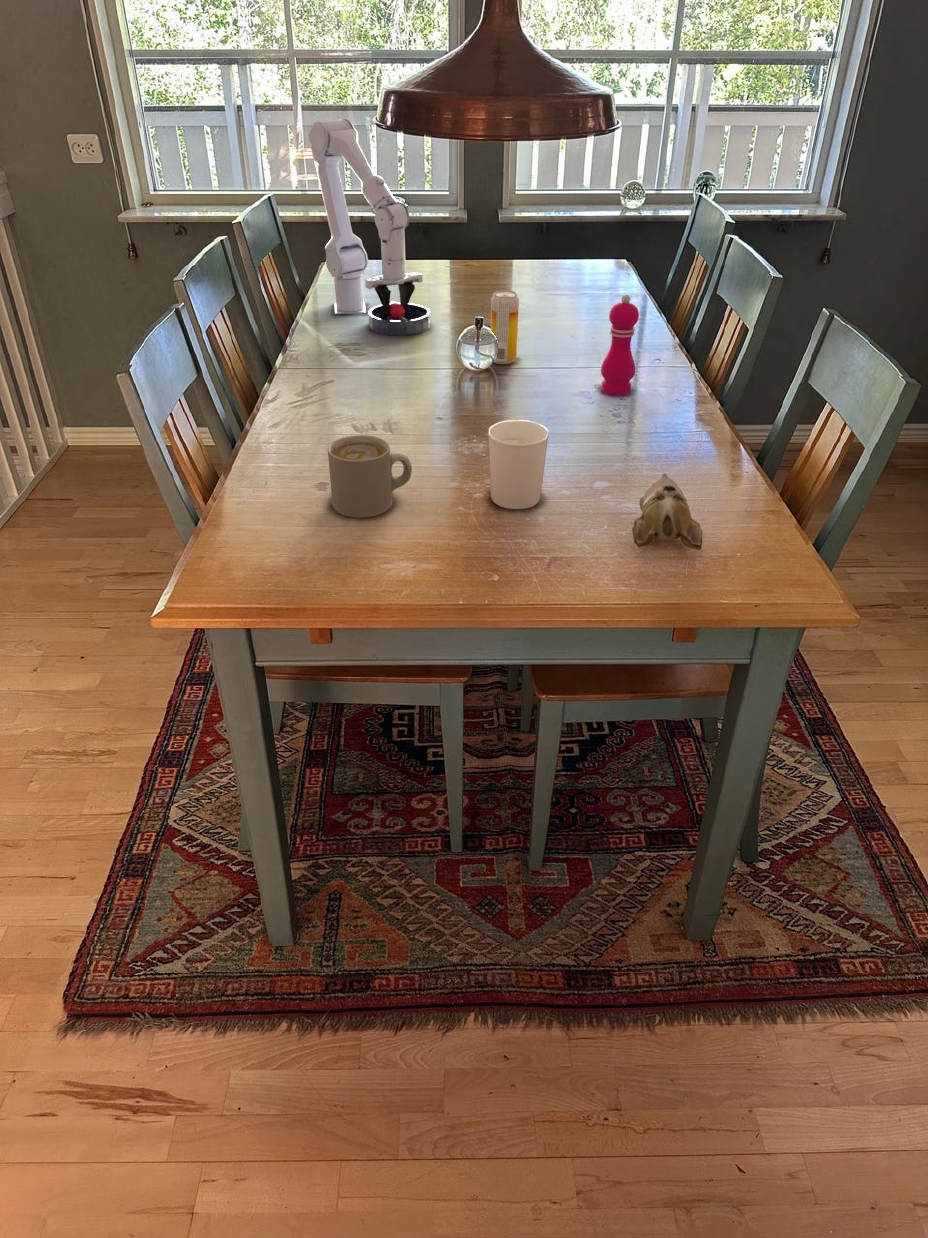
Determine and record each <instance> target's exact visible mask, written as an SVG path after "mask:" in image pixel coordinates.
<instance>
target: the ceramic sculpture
mask: <svg viewBox="0 0 928 1238" xmlns="http://www.w3.org/2000/svg"><path fill="white" fill-rule="evenodd" d="M639 508H640V510H641V513H642V514H641V515H640V516H639V517H638V518H636V519H635V520H634V522H633V526H632V529H631V530H632V531H631V532H632V538H633V542H634V544H635V545H636V546H637V547H638V548H642V547H646V546H648V545H650V544H652V543H653V542H654V540H656V541H663V542H673V541H677V540H678V539H680V541H681V543H682V544H683V546H685V547H687V548H689V549H693V550H697V551H701V550H702V546H703V530H702V528H701V524H700V522H698V521H697V520H695V519H693V518H692V516H691V511H690V506H689V504H688V500H687V498H686V497H685V495H684V492H683V490H682V488H681V487H680V485H678V483H676V481H674V480H673V479H672V478H670V477H669V476H668V474H667V473H665V472H664V473H662V474H661V475H660V477H658V478H657V479H656V480H654V481H653V482H652V483H651V484H650V485H649V486H648V487H647V488H646V489H645V491H644V492H643V493H642V495H641V496H640V497H639Z"/></svg>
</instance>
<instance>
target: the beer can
mask: <svg viewBox="0 0 928 1238" xmlns="http://www.w3.org/2000/svg"><path fill="white" fill-rule="evenodd" d="M490 303H491V304H490V305H491V306H490V332H491V331H492V332H493V333H494V335H495V336H496V338H497V341H498V353H497V358H496V360H494V361H492V363H494V364H499V365H509V364H512V363H514V362H515V360H516V359H517V354H518V353H517V351H518V332H519V331H518V330H519V309H520V308H519V307H520V298H519V296H518V293H517V292H516V291H514V290H506V289H505V290H497V291H494V292H493V295H492V297H491V301H490Z"/></svg>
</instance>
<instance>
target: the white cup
mask: <svg viewBox="0 0 928 1238" xmlns="http://www.w3.org/2000/svg"><path fill="white" fill-rule="evenodd" d="M487 435H488V456H489V461H488V462H489V485H490V486H489V490H490V498H491V499H490V500H491V501H492V502H493V503H494V504H495V505H497V506H499V507H501V508H504V509H508V510H525V509H529V508H530V509H531V508H532V507H534V506H536V505H537V504H538V503H539V502H540V500H541V496H542V487H543V480H544V473H545V465H546V457H547V450H548V443H549V436H550V432H549V430H548V429H547V427H545V426H544V425H542V424H540V423H538V422H536V421H531V420H526V419H525V420H524V419H507V420H502V421H499V422H496V423H494V424H492V425H491V426H490V427H488V430H487Z"/></svg>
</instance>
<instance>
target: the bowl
mask: <svg viewBox="0 0 928 1238" xmlns="http://www.w3.org/2000/svg"><path fill="white" fill-rule="evenodd" d="M398 303H399V304H400V302H398ZM403 317H404V318H405V319H406V320H407V321H401V320H394V319H392V318H390V317H387V316H385V315H384V311H383V307H382V304H380V305H376V306H374V307H372V308H370V309H369V310H368V327H369V330H371V331H372V332H373V333H377V334H380V335H383V336H392V337H393V336H394V337H404V336H405V337H406V336H414V335H418V334H421V333H425V332H427V331H428V330H429V329H430V328H431V311H430V309H429V308H427V307H426V306H423V305H420V304H415V303H409V304H408V308H407V313H406V314H404V316H403Z"/></svg>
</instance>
